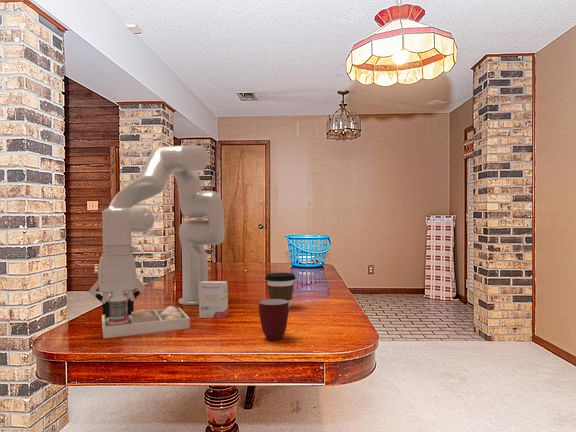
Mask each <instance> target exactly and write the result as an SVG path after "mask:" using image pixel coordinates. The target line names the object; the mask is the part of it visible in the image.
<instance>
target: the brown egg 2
mask: <svg viewBox="0 0 576 432" xmlns="http://www.w3.org/2000/svg"><path fill="white" fill-rule="evenodd" d="M180 318H182V316H181V314H180V313H179V312H177V311H172V312H170V313H169V314H168V316H167V317H166V318H165V319H164V320H171V319H180Z"/></svg>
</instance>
